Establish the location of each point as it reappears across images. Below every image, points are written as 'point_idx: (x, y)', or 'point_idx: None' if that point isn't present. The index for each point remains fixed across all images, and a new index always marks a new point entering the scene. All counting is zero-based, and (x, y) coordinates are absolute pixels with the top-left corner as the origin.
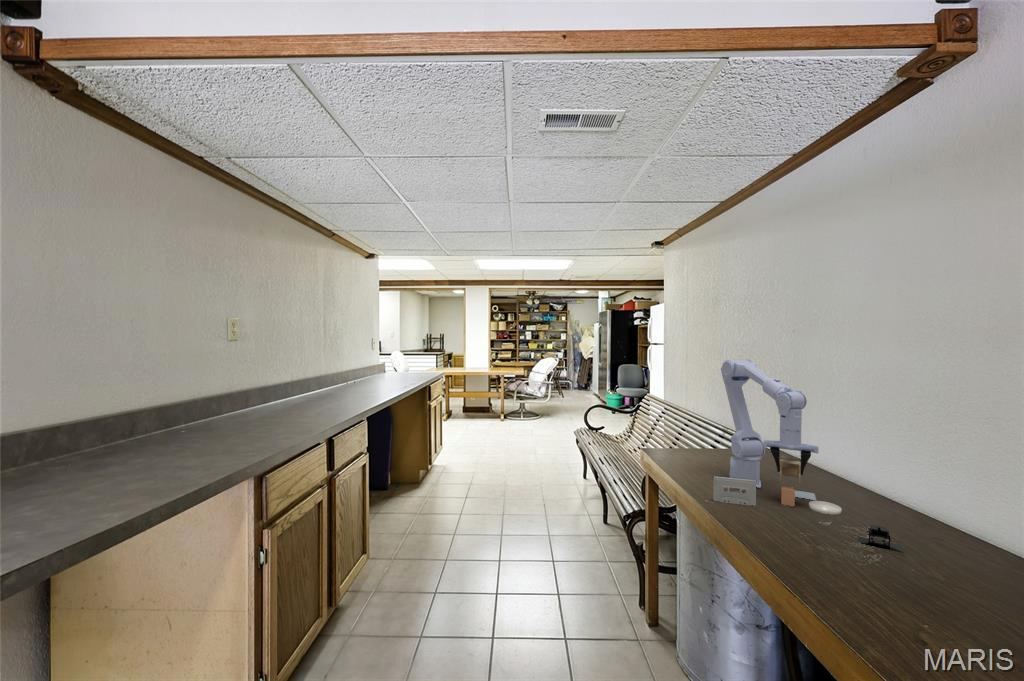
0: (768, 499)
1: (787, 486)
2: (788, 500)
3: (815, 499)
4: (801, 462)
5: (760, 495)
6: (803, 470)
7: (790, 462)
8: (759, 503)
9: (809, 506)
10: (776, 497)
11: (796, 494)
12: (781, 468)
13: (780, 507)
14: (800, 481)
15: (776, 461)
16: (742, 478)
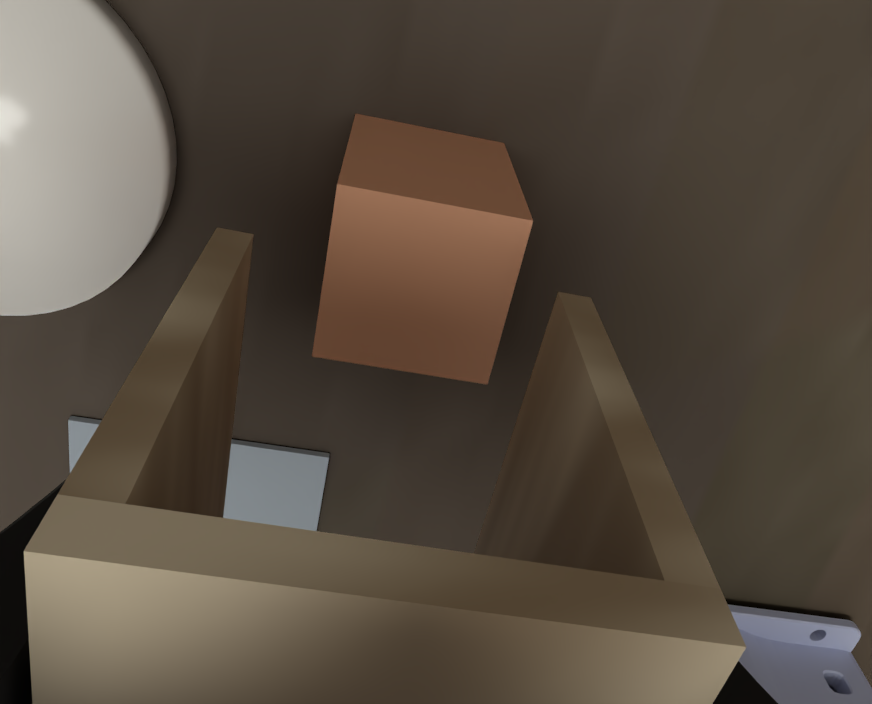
0: (612, 281)
1: (407, 362)
2: (427, 148)
3: (76, 435)
4: (10, 658)
5: (659, 388)
6: (59, 486)
7: (400, 574)
8: (793, 81)
9: (169, 138)
10: (492, 381)
11: (255, 520)
12: (621, 446)
13: (555, 8)
14: (209, 243)
15: (741, 682)
16: (766, 680)
